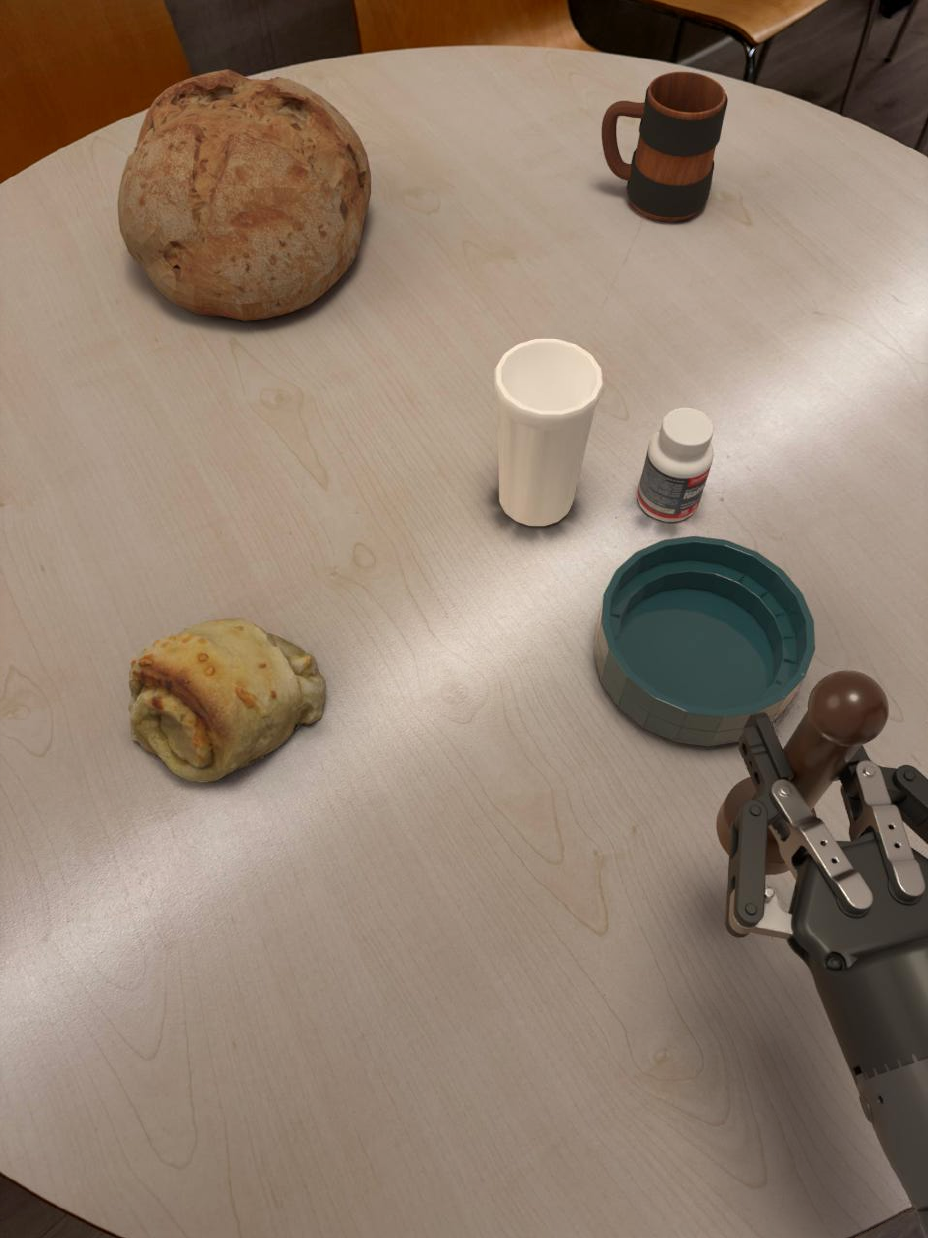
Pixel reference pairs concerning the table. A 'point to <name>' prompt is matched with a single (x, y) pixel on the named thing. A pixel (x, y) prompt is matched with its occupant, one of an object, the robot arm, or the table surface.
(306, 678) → the pastry
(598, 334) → the table surface
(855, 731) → the pestle
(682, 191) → the mug
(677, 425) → the pill bottle
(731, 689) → the bowl
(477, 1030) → the table surface
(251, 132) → the bread
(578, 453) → the cup
